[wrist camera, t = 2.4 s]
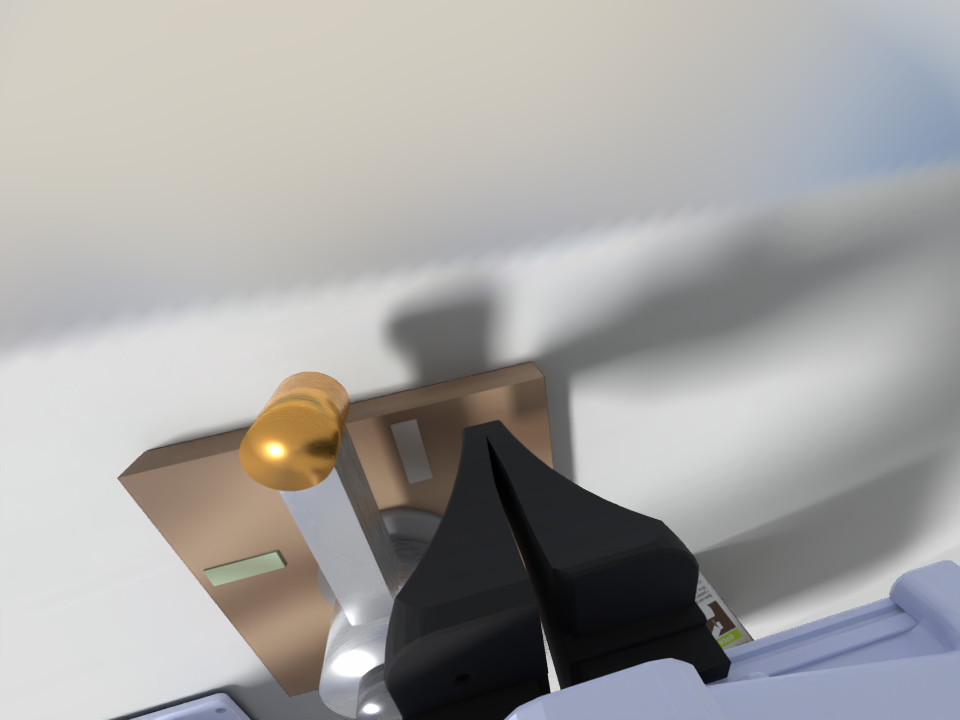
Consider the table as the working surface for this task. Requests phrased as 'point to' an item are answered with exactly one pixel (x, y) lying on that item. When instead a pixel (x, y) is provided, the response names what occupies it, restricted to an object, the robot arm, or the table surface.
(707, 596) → the coffee box
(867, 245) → the table surface
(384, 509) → the coupling base
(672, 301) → the table surface
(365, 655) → the gold-capped lever
